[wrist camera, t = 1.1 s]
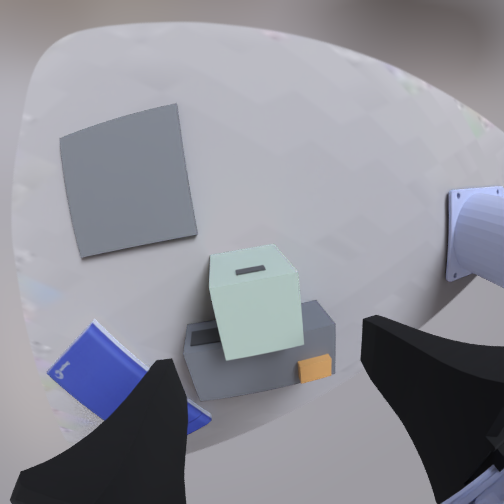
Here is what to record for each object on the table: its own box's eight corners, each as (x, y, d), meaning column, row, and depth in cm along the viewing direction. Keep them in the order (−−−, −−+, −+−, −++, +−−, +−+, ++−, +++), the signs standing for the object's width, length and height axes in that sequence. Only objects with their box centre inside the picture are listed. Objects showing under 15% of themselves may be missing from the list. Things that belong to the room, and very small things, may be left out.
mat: (177, 104, 15) (176, 103, 14) (197, 233, 17) (197, 234, 17) (62, 138, 14) (59, 138, 14) (83, 256, 16) (80, 257, 16)
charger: (273, 242, 18) (297, 270, 13) (283, 323, 19) (305, 370, 14) (210, 253, 18) (208, 286, 12) (227, 334, 19) (232, 385, 14)
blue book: (45, 374, 17) (152, 453, 21) (89, 325, 17) (212, 422, 20) (51, 364, 19) (153, 441, 22) (97, 315, 18) (211, 409, 22)
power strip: (316, 298, 19) (339, 327, 15) (318, 346, 20) (338, 378, 16) (187, 323, 18) (182, 358, 15) (201, 369, 20) (200, 407, 16)
